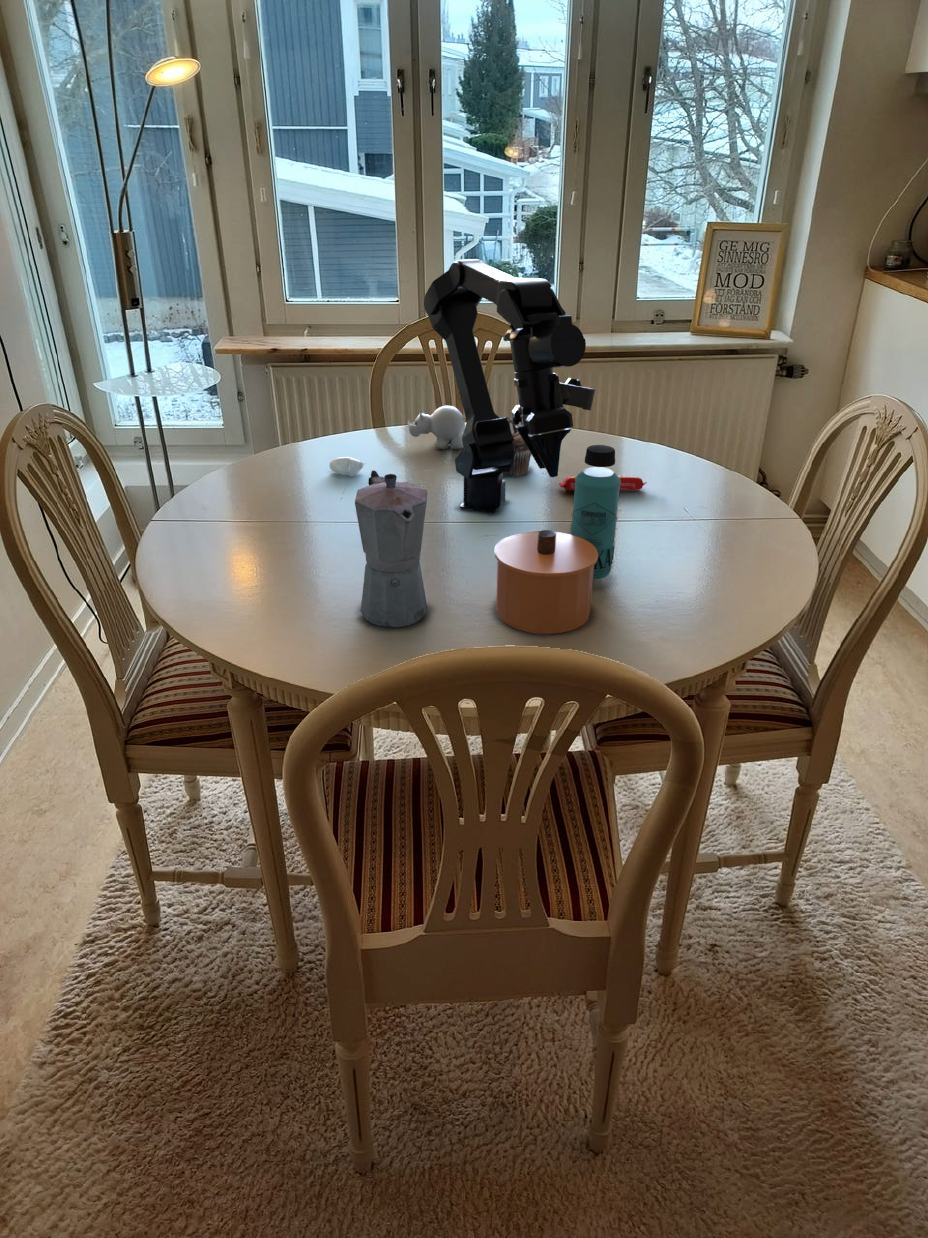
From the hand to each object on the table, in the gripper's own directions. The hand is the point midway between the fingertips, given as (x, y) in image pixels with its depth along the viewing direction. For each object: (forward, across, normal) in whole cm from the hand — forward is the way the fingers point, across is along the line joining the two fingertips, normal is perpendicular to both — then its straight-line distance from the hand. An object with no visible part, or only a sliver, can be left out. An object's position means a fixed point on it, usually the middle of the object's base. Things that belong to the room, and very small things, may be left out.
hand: (548, 472), depth 133 cm
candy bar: (+10, +24, -13) cm, 29 cm away
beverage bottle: (+15, -12, -2) cm, 19 cm away
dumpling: (0, +36, +33) cm, 49 cm away
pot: (+15, -21, +7) cm, 27 cm away
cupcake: (+5, +37, +2) cm, 37 cm away
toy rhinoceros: (0, +53, +14) cm, 55 cm away
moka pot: (+11, -20, +27) cm, 35 cm away
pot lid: (+6, -23, +6) cm, 25 cm away
